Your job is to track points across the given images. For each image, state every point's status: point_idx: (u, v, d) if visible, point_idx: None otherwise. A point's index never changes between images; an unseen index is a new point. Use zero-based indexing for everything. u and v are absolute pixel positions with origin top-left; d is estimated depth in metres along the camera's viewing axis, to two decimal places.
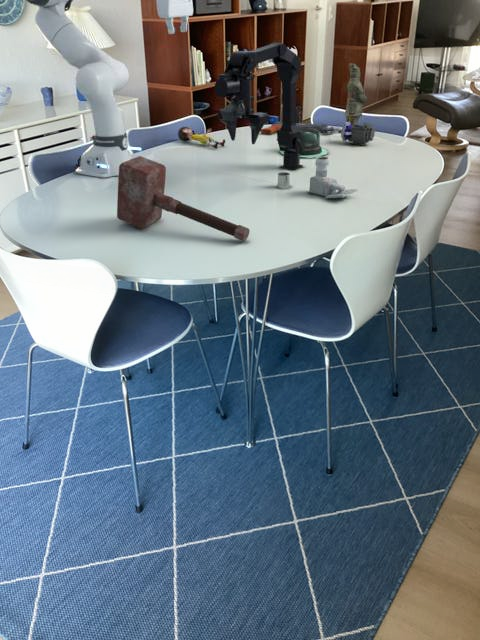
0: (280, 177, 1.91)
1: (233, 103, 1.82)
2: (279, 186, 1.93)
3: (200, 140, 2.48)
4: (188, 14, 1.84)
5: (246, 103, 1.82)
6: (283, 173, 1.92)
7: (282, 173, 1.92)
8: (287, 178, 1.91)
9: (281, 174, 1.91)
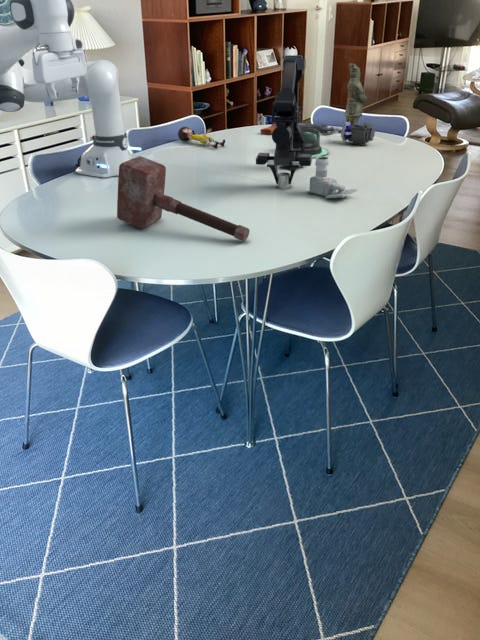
0: (280, 177, 1.91)
1: (280, 148, 1.84)
2: (279, 186, 1.93)
3: (200, 140, 2.48)
4: None
5: (291, 147, 1.86)
6: (283, 173, 1.92)
7: (282, 173, 1.92)
8: (287, 178, 1.91)
9: (281, 174, 1.91)
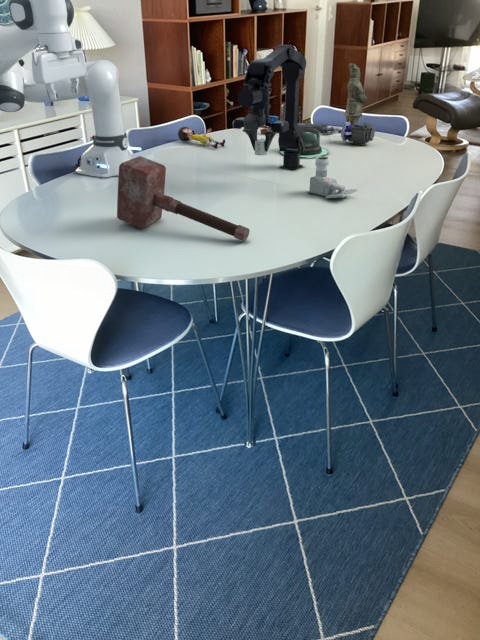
0: (255, 143, 1.88)
1: (253, 112, 1.82)
2: (255, 152, 1.90)
3: (200, 140, 2.48)
4: None
5: (266, 112, 1.82)
6: (261, 139, 1.89)
7: (260, 139, 1.89)
8: (262, 145, 1.88)
9: (257, 140, 1.88)
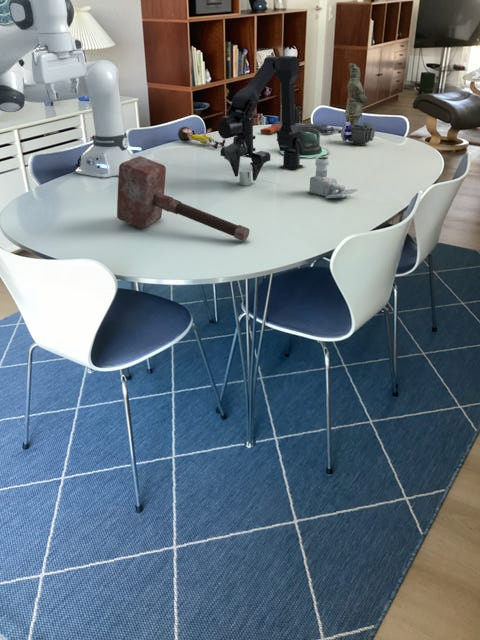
0: (239, 173, 1.96)
1: (235, 142, 1.89)
2: None
3: (200, 140, 2.48)
4: None
5: (248, 143, 1.89)
6: (245, 170, 1.96)
7: (245, 170, 1.97)
8: (245, 175, 1.95)
9: (242, 171, 1.96)
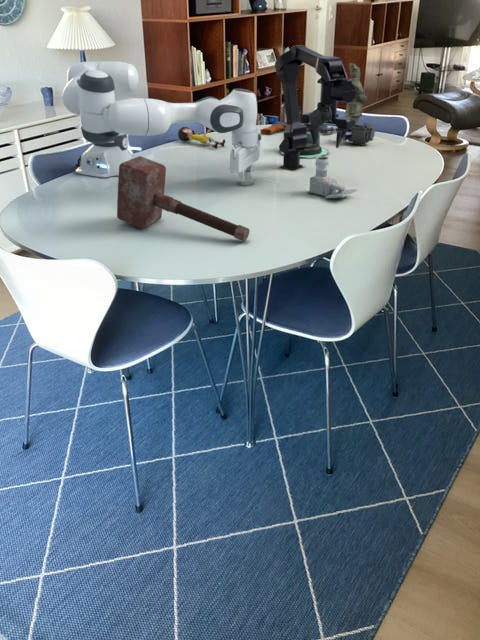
0: None
1: (320, 108, 1.86)
2: None
3: (200, 140, 2.48)
4: None
5: (333, 108, 1.86)
6: (245, 170, 1.96)
7: (245, 170, 1.97)
8: (245, 175, 1.95)
9: None
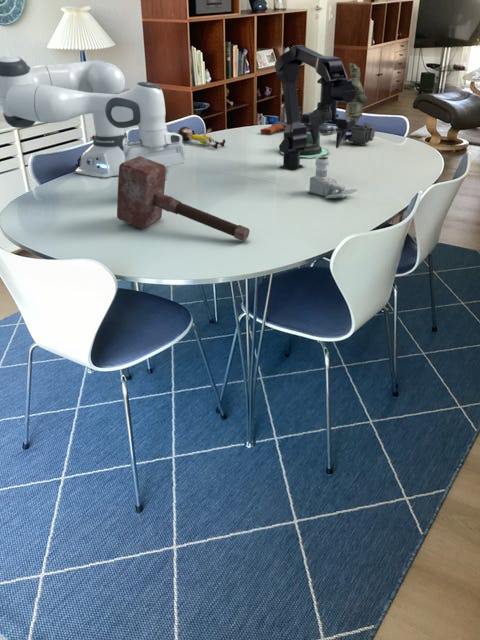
0: None
1: (320, 108, 1.86)
2: None
3: (200, 140, 2.48)
4: None
5: (333, 108, 1.86)
6: None
7: None
8: None
9: None
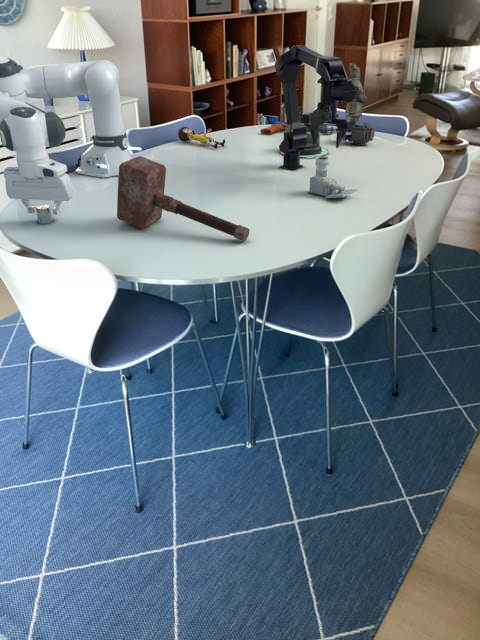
0: None
1: (320, 108, 1.86)
2: None
3: (200, 140, 2.48)
4: None
5: (333, 108, 1.86)
6: (44, 207, 1.67)
7: (45, 206, 1.67)
8: None
9: (42, 205, 1.68)
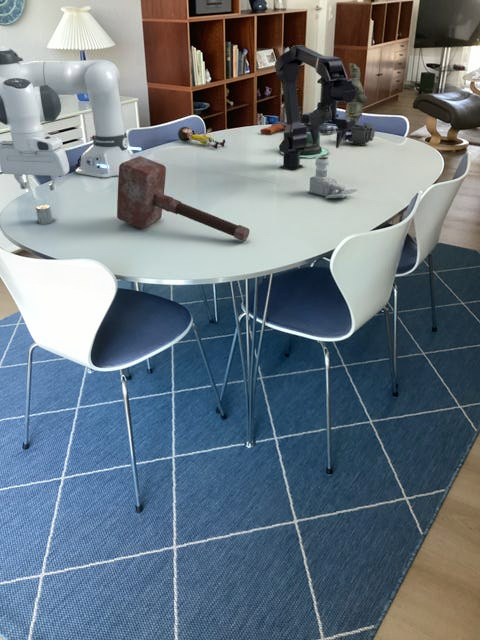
0: None
1: (320, 108, 1.86)
2: None
3: (200, 140, 2.48)
4: None
5: (333, 108, 1.86)
6: (44, 207, 1.67)
7: (45, 206, 1.67)
8: None
9: (42, 205, 1.68)
